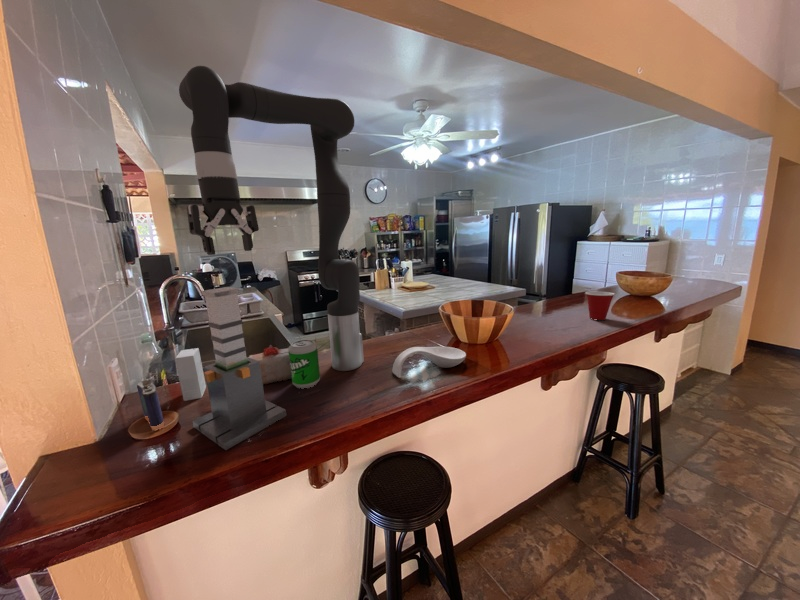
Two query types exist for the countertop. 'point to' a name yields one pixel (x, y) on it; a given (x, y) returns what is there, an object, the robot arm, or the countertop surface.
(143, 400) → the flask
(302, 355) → the soda can
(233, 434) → the stand
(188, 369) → the skincare box
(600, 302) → the plastic cup
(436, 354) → the spoon rest
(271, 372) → the food item
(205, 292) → the column
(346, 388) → the countertop surface
